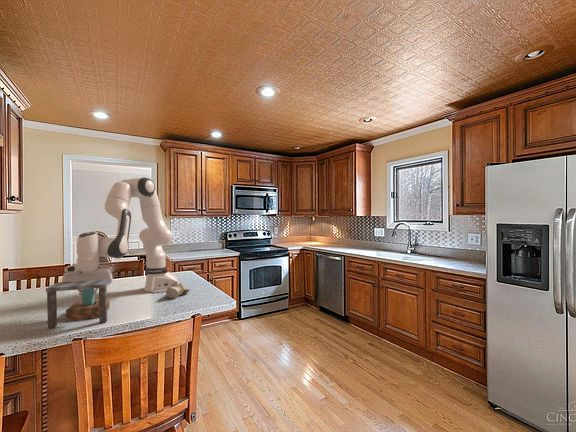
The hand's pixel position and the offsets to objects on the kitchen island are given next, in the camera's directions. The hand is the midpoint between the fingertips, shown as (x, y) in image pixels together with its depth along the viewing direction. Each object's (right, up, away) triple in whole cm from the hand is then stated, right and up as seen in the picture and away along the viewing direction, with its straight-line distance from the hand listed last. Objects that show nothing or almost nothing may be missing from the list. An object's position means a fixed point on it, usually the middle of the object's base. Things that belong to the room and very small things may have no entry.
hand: (88, 294), depth 141 cm
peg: (0, -5, 0) cm, 5 cm away
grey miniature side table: (+1, -10, -4) cm, 10 cm away
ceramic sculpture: (+31, -9, +29) cm, 44 cm away
